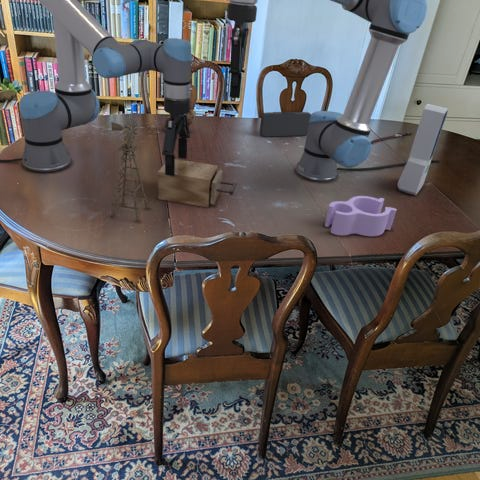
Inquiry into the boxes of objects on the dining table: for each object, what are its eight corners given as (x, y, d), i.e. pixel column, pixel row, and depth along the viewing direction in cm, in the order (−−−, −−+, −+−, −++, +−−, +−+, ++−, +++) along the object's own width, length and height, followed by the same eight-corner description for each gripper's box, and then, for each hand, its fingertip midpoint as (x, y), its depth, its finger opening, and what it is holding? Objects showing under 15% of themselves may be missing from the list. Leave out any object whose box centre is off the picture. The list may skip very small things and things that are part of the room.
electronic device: (415, 196, 164) (443, 113, 148) (394, 190, 167) (419, 107, 151) (423, 185, 173) (451, 105, 157) (404, 179, 176) (428, 100, 160)
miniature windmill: (137, 222, 133) (134, 119, 117) (109, 216, 134) (102, 114, 118) (149, 207, 141) (147, 109, 125) (122, 202, 142) (117, 104, 126)
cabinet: (215, 191, 154) (217, 165, 149) (207, 207, 145) (209, 180, 139) (168, 184, 155) (169, 157, 150) (158, 199, 146) (158, 171, 141)
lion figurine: (193, 128, 201) (194, 107, 196) (196, 133, 197) (197, 112, 192) (159, 129, 196) (159, 108, 192) (162, 134, 192) (162, 112, 187)
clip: (337, 240, 135) (342, 219, 131) (318, 218, 145) (322, 198, 141) (395, 233, 141) (402, 213, 137) (373, 213, 151) (378, 194, 147)
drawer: (236, 193, 152) (239, 172, 148) (231, 207, 144) (233, 185, 140) (177, 183, 154) (177, 162, 150) (168, 197, 146) (168, 175, 142)
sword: (407, 132, 223) (408, 129, 223) (413, 134, 221) (413, 131, 221) (364, 143, 208) (365, 141, 207) (370, 146, 206) (370, 143, 205)
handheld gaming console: (306, 133, 210) (309, 111, 204) (308, 135, 207) (312, 113, 202) (258, 134, 202) (261, 112, 197) (260, 137, 200) (263, 114, 195)
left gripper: (177, 111, 123) (176, 184, 134) (200, 88, 144) (198, 153, 155) (150, 108, 124) (151, 180, 135) (177, 85, 145) (176, 150, 156)
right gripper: (253, 8, 112) (243, 105, 125) (260, 2, 123) (251, 92, 136) (222, 4, 113) (216, 101, 126) (232, -1, 124) (226, 89, 136)
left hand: (176, 166), depth 145 cm, fingers open, 13 cm apart
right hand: (234, 96), depth 131 cm, fingers closed
